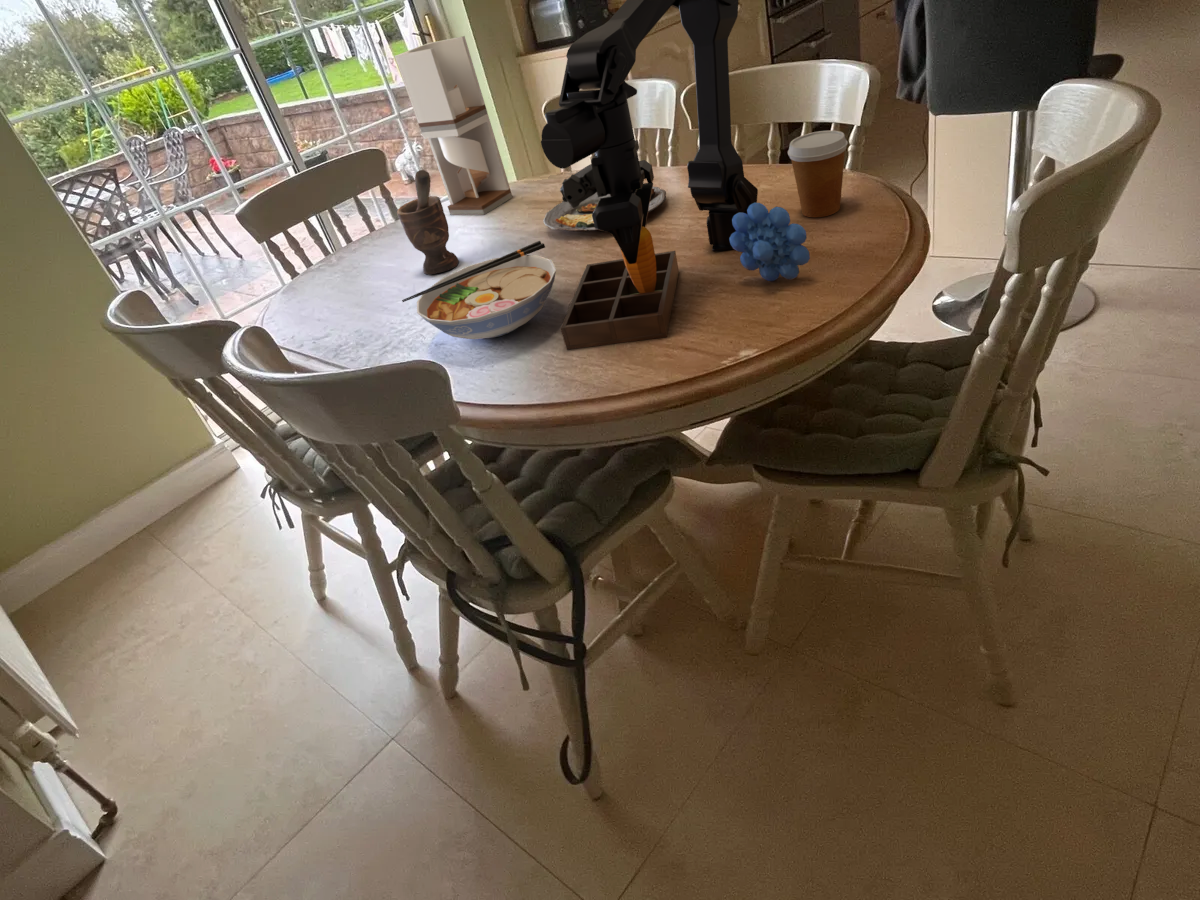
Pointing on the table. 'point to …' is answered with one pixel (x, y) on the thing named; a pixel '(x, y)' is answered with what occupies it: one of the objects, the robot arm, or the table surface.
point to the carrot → (643, 264)
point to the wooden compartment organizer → (619, 305)
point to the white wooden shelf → (455, 124)
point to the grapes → (769, 242)
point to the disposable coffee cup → (819, 171)
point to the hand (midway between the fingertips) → (636, 250)
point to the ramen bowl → (489, 295)
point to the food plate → (588, 212)
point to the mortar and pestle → (427, 227)
